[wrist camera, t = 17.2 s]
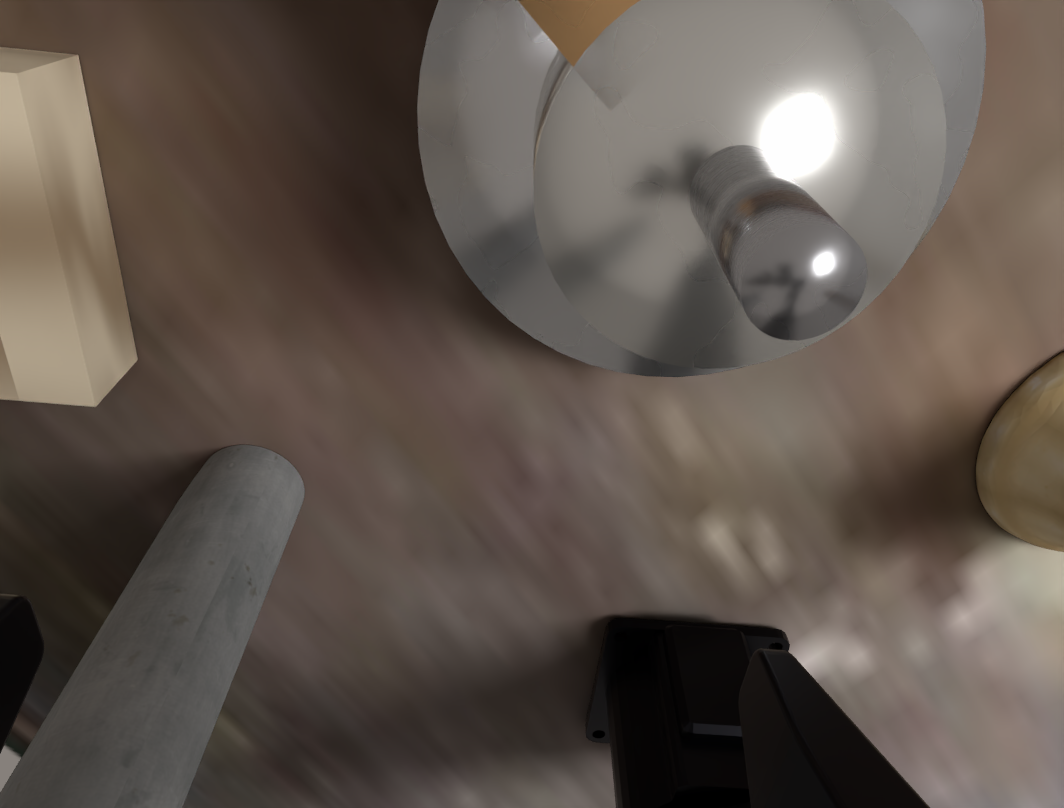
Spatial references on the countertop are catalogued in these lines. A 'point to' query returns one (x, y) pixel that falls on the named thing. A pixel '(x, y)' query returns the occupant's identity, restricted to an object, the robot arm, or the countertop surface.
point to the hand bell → (1027, 460)
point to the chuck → (731, 168)
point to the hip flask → (167, 646)
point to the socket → (55, 241)
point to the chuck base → (508, 143)
